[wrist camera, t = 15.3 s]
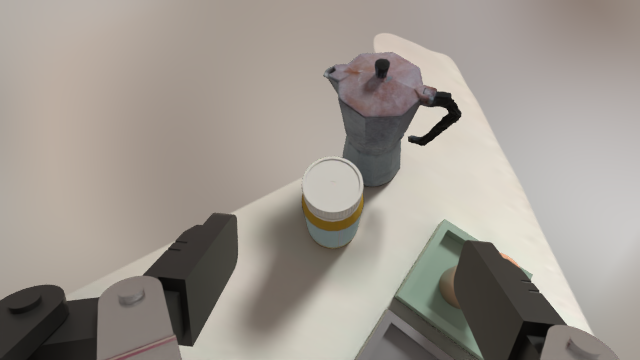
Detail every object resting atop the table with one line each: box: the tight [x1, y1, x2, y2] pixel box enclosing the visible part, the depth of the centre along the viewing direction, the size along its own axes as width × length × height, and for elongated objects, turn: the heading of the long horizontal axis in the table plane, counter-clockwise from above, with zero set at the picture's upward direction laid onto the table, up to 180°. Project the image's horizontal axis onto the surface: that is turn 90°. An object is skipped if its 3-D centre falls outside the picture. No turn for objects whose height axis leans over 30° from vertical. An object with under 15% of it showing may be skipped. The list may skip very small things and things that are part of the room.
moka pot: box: [324, 52, 461, 186], centre depth 39 cm, size 10×15×20 cm, turn 72°
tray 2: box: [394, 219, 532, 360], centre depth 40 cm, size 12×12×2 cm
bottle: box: [302, 156, 364, 248], centre depth 38 cm, size 7×7×15 cm
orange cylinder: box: [439, 253, 520, 309], centre depth 35 cm, size 5×5×10 cm
